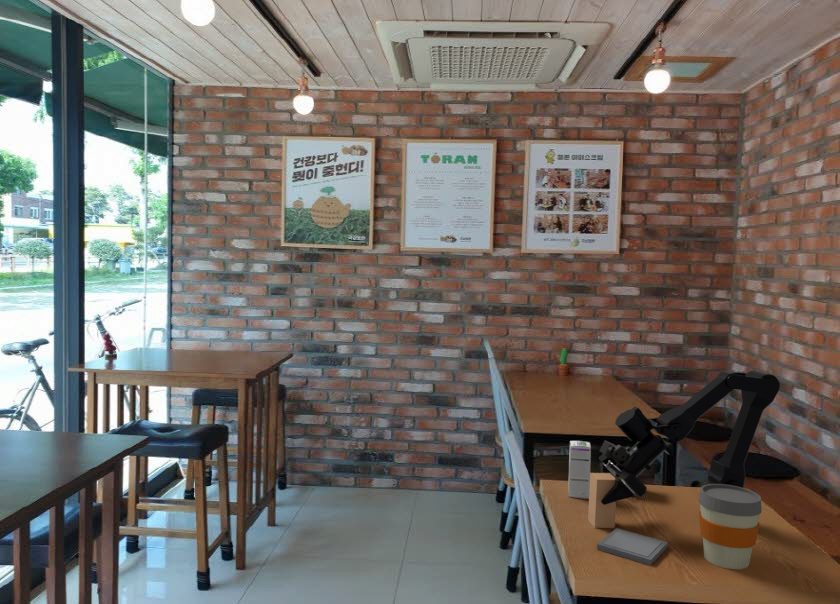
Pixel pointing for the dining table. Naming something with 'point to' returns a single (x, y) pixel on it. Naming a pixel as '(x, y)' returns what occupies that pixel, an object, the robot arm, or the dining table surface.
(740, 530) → the reusable coffee cup
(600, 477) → the block
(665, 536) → the dining table surface
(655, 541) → the plate
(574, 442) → the syrup box
